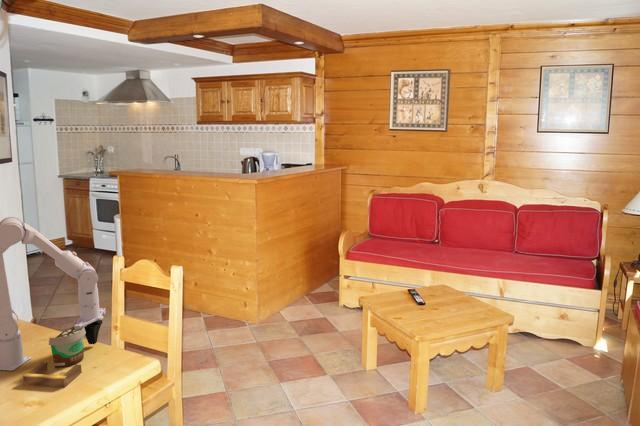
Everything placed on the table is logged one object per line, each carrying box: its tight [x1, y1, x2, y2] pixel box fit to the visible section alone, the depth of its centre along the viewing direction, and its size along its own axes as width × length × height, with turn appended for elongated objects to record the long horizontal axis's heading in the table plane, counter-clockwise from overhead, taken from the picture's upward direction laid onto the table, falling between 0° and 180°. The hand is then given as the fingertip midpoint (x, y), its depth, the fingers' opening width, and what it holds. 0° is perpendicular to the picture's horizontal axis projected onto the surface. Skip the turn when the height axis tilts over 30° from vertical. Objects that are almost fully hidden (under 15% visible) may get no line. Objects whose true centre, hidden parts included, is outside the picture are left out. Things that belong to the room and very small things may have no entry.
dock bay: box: [22, 361, 83, 389], centre depth 143 cm, size 12×8×3 cm
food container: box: [48, 321, 86, 369], centre depth 152 cm, size 12×6×10 cm, turn 168°
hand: (92, 343), depth 162 cm, fingers closed
